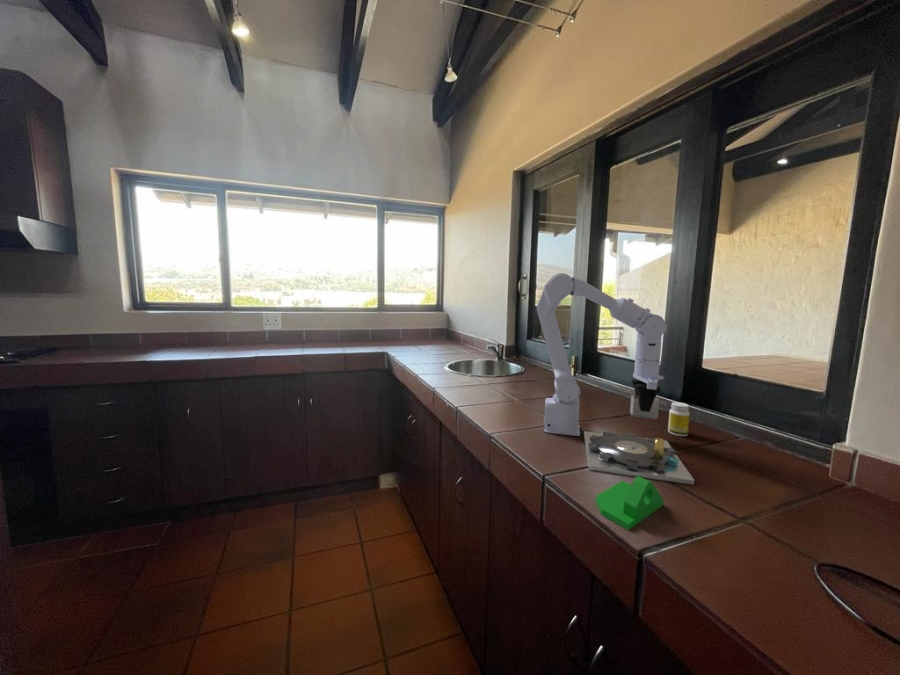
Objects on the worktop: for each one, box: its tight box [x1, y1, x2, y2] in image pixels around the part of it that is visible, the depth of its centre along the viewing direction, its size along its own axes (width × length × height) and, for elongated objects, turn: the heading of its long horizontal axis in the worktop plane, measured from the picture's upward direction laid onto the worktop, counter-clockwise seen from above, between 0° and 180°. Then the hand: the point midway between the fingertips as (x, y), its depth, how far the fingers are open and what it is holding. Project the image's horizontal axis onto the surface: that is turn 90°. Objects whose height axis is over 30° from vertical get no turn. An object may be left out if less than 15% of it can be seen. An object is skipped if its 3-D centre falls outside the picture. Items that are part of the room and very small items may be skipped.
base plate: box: [583, 431, 696, 486], centre depth 83 cm, size 20×20×1 cm
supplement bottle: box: [667, 401, 691, 437], centre depth 96 cm, size 5×5×8 cm
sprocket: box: [588, 431, 680, 471], centre depth 82 cm, size 19×19×5 cm
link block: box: [629, 394, 660, 420], centre depth 93 cm, size 6×4×5 cm, turn 72°
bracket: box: [595, 476, 664, 531], centre depth 63 cm, size 12×8×7 cm, turn 124°
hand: (643, 408), depth 93 cm, fingers closed on link block, 3 cm apart
